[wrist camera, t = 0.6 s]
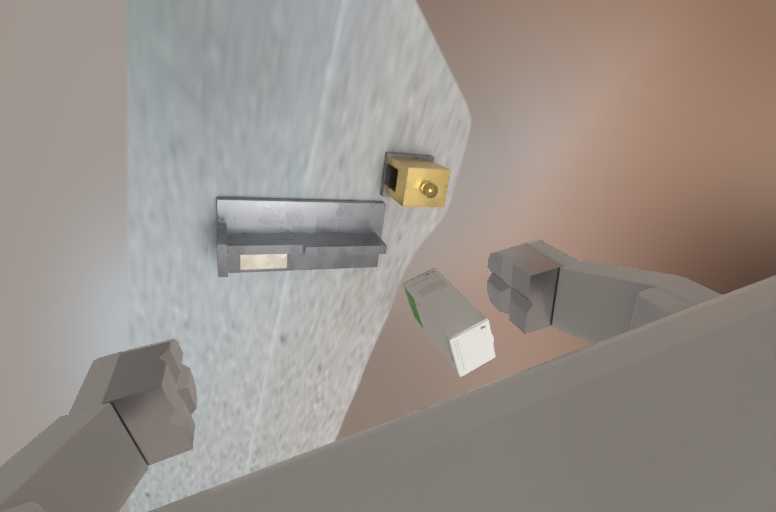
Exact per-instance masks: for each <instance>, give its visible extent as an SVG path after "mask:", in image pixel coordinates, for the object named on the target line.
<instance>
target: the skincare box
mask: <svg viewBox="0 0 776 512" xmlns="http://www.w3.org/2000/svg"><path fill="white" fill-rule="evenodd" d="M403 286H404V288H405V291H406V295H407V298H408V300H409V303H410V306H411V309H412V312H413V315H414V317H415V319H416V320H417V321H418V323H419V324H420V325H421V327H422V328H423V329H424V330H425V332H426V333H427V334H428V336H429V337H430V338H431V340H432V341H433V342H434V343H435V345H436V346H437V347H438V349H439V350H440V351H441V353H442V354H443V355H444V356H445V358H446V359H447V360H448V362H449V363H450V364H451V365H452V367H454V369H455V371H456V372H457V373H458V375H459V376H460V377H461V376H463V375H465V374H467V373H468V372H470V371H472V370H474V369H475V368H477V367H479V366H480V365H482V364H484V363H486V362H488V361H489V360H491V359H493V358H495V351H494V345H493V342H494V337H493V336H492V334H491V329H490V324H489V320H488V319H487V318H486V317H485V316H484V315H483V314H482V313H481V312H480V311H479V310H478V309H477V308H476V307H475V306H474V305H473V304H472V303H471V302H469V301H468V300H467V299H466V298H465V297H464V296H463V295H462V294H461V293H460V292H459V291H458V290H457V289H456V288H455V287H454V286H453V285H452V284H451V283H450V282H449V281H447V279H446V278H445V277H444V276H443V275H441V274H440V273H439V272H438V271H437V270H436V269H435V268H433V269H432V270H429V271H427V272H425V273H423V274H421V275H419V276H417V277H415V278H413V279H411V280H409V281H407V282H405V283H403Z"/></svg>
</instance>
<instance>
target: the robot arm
mask: <svg viewBox="0 0 776 512" xmlns="http://www.w3.org/2000/svg"><path fill="white" fill-rule="evenodd" d="M488 268H489V269H490V271H491V272H492V274H491V276H490V277H489V279H488V281H487V292H488V295H489V298H490V301H491V302H492V304H493V305H494V307H496V308H497V309H498V310H499V311H501V312H504V313H507V314H509V320H510V321H511V322H512V323H513V324H514V325H516V326H517V327H518V328H519V329H520V330H521V331H522V332H523V333H524V334H526V333H530V332H533V331H536V330H539V329H542V328H545V327H549V326H552V327H553V328H556V329H558V330H561V331H563V332H565V333H568V334H570V335H573V336H575V337H578V338H580V339H583V340H585V341H588V342H591V343H593V344H592V345H590V346H587V347H585V348H582V349H579V350H576V351H574V352H571V353H568V354H566V355H563V356H560V357H558V358H555V359H552V360H550V361H547V362H544V363H542V364H539V365H536V366H534V367H531V368H528V369H526V370H523V371H520V372H518V373H515V374H512V375H510V376H507V377H504V378H502V379H499V380H497V381H494V382H491V383H488V384H486V385H483V386H480V387H478V388H475V389H472V390H470V391H467V392H465V393H462V394H460V395H457V396H454V397H451V398H449V399H446V400H443V401H441V402H438V403H436V404H433V405H430V406H428V407H425V408H422V409H420V410H417V411H414V412H412V413H409V414H407V415H404V416H401V417H399V418H396V419H393V420H391V421H388V422H386V423H383V424H380V425H378V426H375V427H372V428H369V429H367V430H364V431H361V432H359V433H356V434H354V435H351V436H348V437H346V438H343V439H340V440H338V441H335V442H332V443H330V444H327V445H324V446H322V447H319V448H316V449H314V450H311V451H308V452H306V453H303V454H300V455H298V456H295V457H292V458H290V459H287V460H284V461H282V462H279V463H276V464H274V465H271V466H269V467H266V468H263V469H261V470H258V471H255V472H253V473H250V474H247V475H245V476H242V477H239V478H237V479H234V480H231V481H229V482H226V483H223V484H221V485H218V486H215V487H213V488H210V489H207V490H205V491H202V492H199V493H197V494H194V495H191V496H189V497H186V498H184V499H181V500H178V501H176V502H173V503H170V504H168V505H165V506H162V507H160V508H157V509H154V510H152V511H149V512H776V275H775V276H772V277H770V278H767V279H764V280H762V281H759V282H756V283H754V284H751V285H749V286H746V287H743V288H740V289H738V290H735V291H733V292H730V293H727V294H725V295H721V294H719V293H717V292H714V291H712V290H710V289H708V288H705V287H703V286H701V285H699V284H697V283H695V282H693V281H691V280H688V279H686V278H684V277H682V276H676V275H670V274H664V273H658V272H652V271H646V270H640V269H634V268H629V267H623V266H617V265H610V264H605V263H599V262H593V261H587V260H583V261H579V260H577V259H575V258H573V257H571V256H569V255H568V254H566V253H564V252H562V251H560V250H558V249H556V248H555V247H553V246H551V245H549V244H547V243H545V242H543V241H542V240H533V241H530V242H527V243H524V244H521V245H518V246H515V247H511V248H508V249H505V250H501V251H498V252H494V253H492V254H490V256H489V259H488ZM182 356H183V352H182V350H181V348H180V346H179V344H178V342H177V341H176V340H175V339H170V340H166V341H162V342H158V343H154V344H150V345H146V346H142V347H138V348H134V349H130V350H127V351H124V352H118V353H115V354H111V355H107V356H104V357H100V358H98V359H96V360H94V361H93V363H92V365H91V367H90V369H89V371H88V373H87V376H86V378H85V380H84V382H83V385H82V386H81V389H80V391H79V393H78V395H77V397H76V400H75V402H74V404H73V406H72V408H71V410H70V412H69V414H68V415H65V416H62V417H59V418H58V419H57V420H56V421H55V422H53V423H52V424H51V425H50V426H48V427H47V428H46V429H45V430H44V431H42V432H41V433H40V434H39V435H38V436H37V437H35V438H34V439H33V440H32V441H31V442H29V443H28V444H27V445H26V446H25V447H24V448H22V449H21V450H20V451H19V452H17V453H16V454H15V455H14V456H13V457H11V458H10V459H9V460H8V461H7V462H5V463H4V464H3V465H2V466H1V467H0V512H119V511H120V509H121V507H122V506H123V505H124V503H125V502H126V500H127V499H128V497H129V496H130V494H131V493H132V491H133V490H134V489H135V487H136V486H137V484H138V483H139V481H140V480H141V478H142V477H143V475H144V474H145V472H146V471H147V469H148V466H149V465H151V464H154V463H157V462H159V461H162V460H165V459H167V458H170V457H173V456H175V455H178V454H181V453H183V452H186V451H189V450H191V449H193V439H194V429H195V423H194V421H193V419H192V416H191V414H192V413H193V412H194V411H195V409H196V406H197V394H196V386H195V382H194V379H193V376H192V373H191V371H190V368H188V367H186V366H184V365H182V364H181V363H182Z"/></svg>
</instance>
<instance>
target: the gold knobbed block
mask: <svg viewBox="0 0 776 512" xmlns="http://www.w3.org/2000/svg"><path fill="white" fill-rule="evenodd" d="M390 165H391V166H393V167H395V168H396V169H398V177H397V184H396V187H393V186H387V194H388V195H389V196H391V197H392V198H393V199H394V200H395V201H397V202H398V203H399V204H400V205H402V206H407V207H444V203H445V198H446V193H447V188H448V182H449V177H450V172H451V170H450V169H448V168H445V167H443V166H441V165H439V164H437V163H435V162H433V161H431V160H419V159H405V158H391V164H390Z"/></svg>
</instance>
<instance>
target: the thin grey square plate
mask: <svg viewBox="0 0 776 512" xmlns="http://www.w3.org/2000/svg"><path fill="white" fill-rule="evenodd" d="M391 158H405V159H419V160H431V161H434V157H433V156H430V155H417V154H404V153H391V152H386V155H385V163H384V170H383V178H382V186H381V194H380V195H382V196H383V197H391V196H389V195H388V194H387V186H393V187H396V184H397V177H398V169H396V168H395V167H393V166H391V165H390V164H391Z"/></svg>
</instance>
